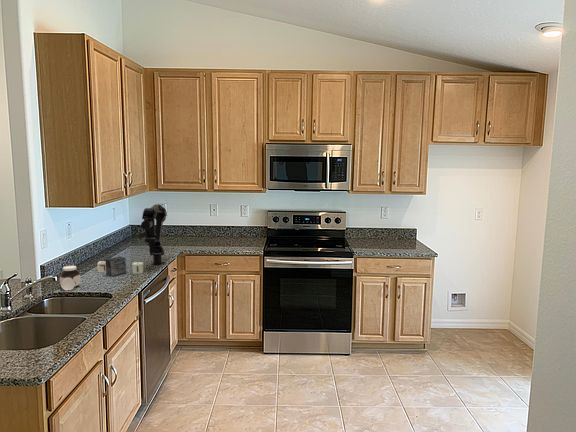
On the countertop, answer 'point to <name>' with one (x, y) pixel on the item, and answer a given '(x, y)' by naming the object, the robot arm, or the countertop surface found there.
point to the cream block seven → (101, 266)
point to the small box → (115, 266)
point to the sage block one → (137, 267)
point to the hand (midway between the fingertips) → (151, 250)
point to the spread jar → (70, 278)
